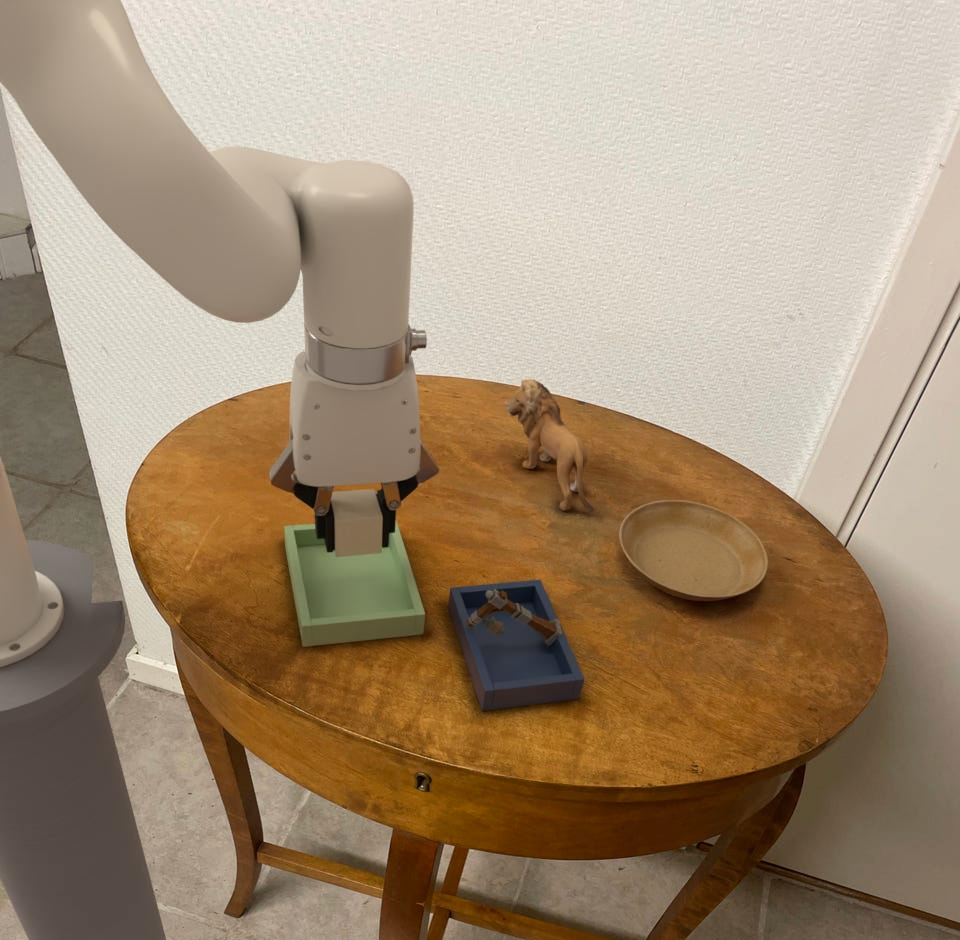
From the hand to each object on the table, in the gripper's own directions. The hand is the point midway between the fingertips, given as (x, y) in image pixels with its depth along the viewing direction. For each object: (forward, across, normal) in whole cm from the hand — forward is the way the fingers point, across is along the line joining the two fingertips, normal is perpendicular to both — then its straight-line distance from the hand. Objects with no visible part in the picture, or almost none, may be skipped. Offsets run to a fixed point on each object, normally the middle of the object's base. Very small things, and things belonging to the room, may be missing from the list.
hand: (355, 538), depth 83 cm
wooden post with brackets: (+4, -12, +10) cm, 16 cm away
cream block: (0, 0, 0) cm, 0 cm away
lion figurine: (+6, -23, -15) cm, 28 cm away
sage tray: (+6, 0, 0) cm, 6 cm away
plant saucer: (+6, -33, +1) cm, 34 cm away
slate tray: (+6, -12, +10) cm, 17 cm away
